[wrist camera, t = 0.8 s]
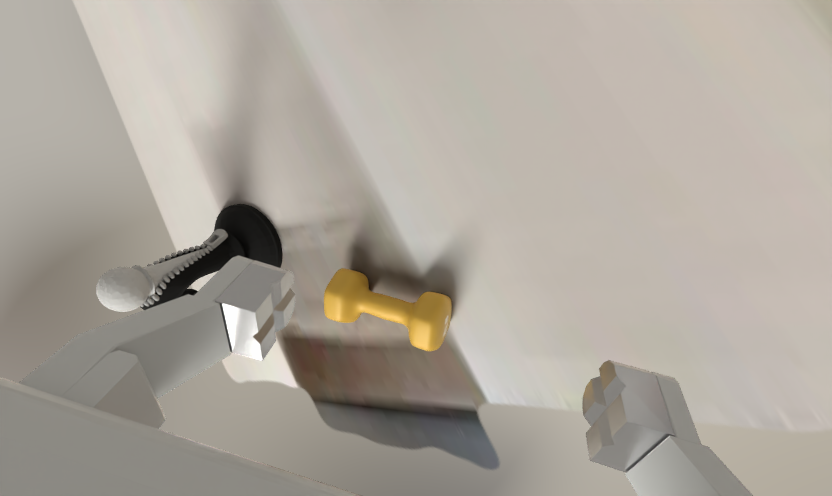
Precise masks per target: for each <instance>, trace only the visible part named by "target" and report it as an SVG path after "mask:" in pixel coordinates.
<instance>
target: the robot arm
mask: <svg viewBox="0 0 832 496" xmlns="http://www.w3.org/2000/svg"><path fill="white" fill-rule="evenodd" d="M293 284H294V273H293V272H291V271H288V270H285V269H282V268H279V267H275V266H272V265H269V264H266V263H262V262H259V261H255V260H252V259H248V258H245V257H242V256H239V255H238V256H236V257H233V258H231V259H230V260H229V261H228V262H227V263H226V264H225V265H224V266H223V267H222V268H221V269H220V270H219V271H218V272H217V273H216V274H215V275H214V276H213V277H212V278H211V279H210V280H209V281H208V282H207V283H206V284H205V285H204V286H203V287H202V288H201V289H200V290H199V291H198V292H197V293H196V294H195V295H194V296H193V295H189V294H188V295H185V296H182V297H179V298H177V299H174V300H171V301H168V302H166V303H163V304H160V305H157V306H155V307H152V308H149V309H146V310H144V311H141V312H138V313H136V314H133V315H130V316H127V317H125V318H122V319H119V320H116V321H114V322H111V323H108V324H105V325H103V326H100V327H97V328H95V329H92V330H89V331H86V332H84V333H81V334H78V335H76V336H75V337H74V338H73V339H72V340H70V341H69V342H68V343H67V344H65V345H64V346H63V347H62V348H61V349H59V350H58V351H57V352H56V353H54V354H53V355H52V356H51V357H49V358H48V359H47V360H46V361H45V362H43V363H42V364H41V365H40V366H38V368H36V369H35V370H34V371H32V372H31V373H30V374H29V375H28V376H26V377H25V378H24V379H23V380H22V381H20V382H19V383H16V382H13V381H11V380H8V379H5V378H1V377H0V496H361V495H358V494H355V493H352V492H349V491H346V490H343V489H339V488H337V487H334V486H331V485H327V484H324V483H321V482H319V481H315V480H312V479H309V478H306V477H303V476H300V475H297V474H294V473H291V472H288V471H285V470H282V469H279V468H276V467H273V466H270V465H266V464H264V463H261V462H258V461H254V460H251V459H248V458H245V457H242V456H239V455H236V454H233V453H230V452H227V451H224V450H221V449H218V448H215V447H212V446H209V445H205V444H202V443H200V442H197V441H193V440H190V439H187V438H184V437H181V436H178V435H175V434H172V433H169V432H166V431H163V430H160V429H159V428H160V427H161V425H162V424H163V423H164V421H165V414H164V412H163V410H162V408H161V405H160V403H159V401H158V398H159V397H161V396H163V395H164V394H166V393H168V392H169V391H171V390H173V389H174V388H176V387H177V386H179V385H181V384H182V383H184V382H185V381H187V380H189V379H191V378H192V377H194V376H196V375H197V374H199V373H201V372H202V371H204V370H205V369H207V368H209V367H211V366H212V365H214V364H215V363H217V362H219V361H221V360H222V359H224V358H226V357H227V356H229V355H230V354H231V352H232V353H235V354H239V355H243V356H246V357H250V358H254V359H257V360H261V361H263V359H264V358H265V356H266V355H267V353H268V352H269V350H270V349H271V347H272V346H273V344H274V343H275V341H276V336H275V332H277V331H279V330H281V329H283V328H285V326H286V325H287V323H288V322H289V320H290V318H291V315H292V313H293V310H294V306H295V294H294V292H293V291H292V290H291V286H292V285H293ZM599 370H600V376H599V377H596V378H593V379H591V380H590V382H589V383H588V385H587V386H586V388H585V392H584V395H583V415H584V417H585V419H586V420H587V421H588V423H589V424H590V426H591V427H590V428H589V430H588V431H587V432H586V438H587V445H588V452H589V459H590V461H593V462H596V463H599V464H602V465H605V466H608V467H611V468H614V469H617V470H620V471H623V472H626V474H625V475H626V476H627V478H628V480H629V481H630V483H631V485H632V486H633V488H634V490H635V491H636V493H637V495H638V496H753V495H752V494H751V493H750V492H749V491H748V489H746V487H745V486H744V485H743V484H742V483H741V482H740V481H739V480H738V478H737V477H736V476H734V474H733V473H732V472H731V471H730V470H729V469H728V468H727V466H726V465H724V463H723V462H722V461H721V460H720V459H719V458H718V457H717V456H716V454H715V453H714V452H713V451H712V450H711V449H710V448H709V447H707V446H704V445H702V444H701V442H700V439H699V437H698V434H697V431H696V428H695V426H694V423H693V420H692V418H691V415H690V412H689V410H688V407H687V404H686V402H685V399H684V396H683V394H682V391H681V388H680V386H679V383H678V382H677V381H676V380H675V378H673V377H669V376H665V375H662V374H658V373H654V372H650V371H647V370H644V369H640V368H636V367H633V366H629V365H625V364H621V363H618V362H614V361H610V360H608V361H606V362H604V363H603V365H602V366H601V367H600V368H599Z"/></svg>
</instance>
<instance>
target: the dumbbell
mask: <svg viewBox="0 0 832 496" xmlns="http://www.w3.org/2000/svg"><path fill="white" fill-rule="evenodd" d="M451 310H452V303H451V299H450V298H449V297H448V296H446V295H443V294H439V293H435V292H425V293H423V294H422V295H421V296H420V297H419V299H418V300H417V302H414V303H409V302H406V301H403V300H400V299H397V298H393V297H390V296H386V295H383V294H379V293H374V292H371V291H370V290H369V284H368V279H367V277H366V276H365V275H364V274H362V273H360V272H357V271H353V270H350V269H344V268H342V269H339V270H338V271H337V272H336V273H335V275H334V276H333V278H332V279H331V281H330V282H329V284H328V286H327V288H326V290H325V293H324V311H325V315H326V317H327V318H329V319H331V320H334V321H338V322H344V323H349V322H354V321H356V320H357V319H358V318H359V316H360V315H361V313H362V312H365V313H369V314H371V315H374V316H377V317H379V318H382V319H385V320H389V321H393V322H398V323H402V324H404V325H406V326H407V328H408V330H409V338H410V341H411V343H412V345H413V346H415V347H417V348H420V349H423V350H426V351H433V350H436V349H438V348H439V347H440V346H441V344H442V343H443V341H444V338H445V336H446V333H447V331H448V328H449V325H450V319H451Z"/></svg>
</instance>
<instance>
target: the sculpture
mask: <svg viewBox="0 0 832 496" xmlns="http://www.w3.org/2000/svg"><path fill="white" fill-rule="evenodd" d="M203 243H204V244H202V245H201V247H200V246H195V249H194V247H190V248H189V250H188V249H184V250H183V252H182V251H178V252H177V254H176V253H172V254H171V256H172V257H170V256H169V255H167V256H166V257H165V259H164V258H161V259H159V261H160V262H159V261H155V262H154V265H152V264H148V265H147V267H141V266H137V265H135V266H133V267H132V268H130V267H118V268H114V269H111V270H109V271H107V272H106V273H104V274H103V275H102V276H101V277H100V279H99V281H98V283H97V286H96V293H97V296H98V298H99V300H100V302H101V303H102V304H103V305H104V306H106V307H107V308H109V309H111V310H115V311H120V312H125V311H131V310H134V309H136V308H138V307H141V308H142V309H144V310H146V309H149V308H152V307H155V306H157V305H160V304H163V303H166V302H168V301H171V300H174V299H177V298H179V297H182V296H185V295H188V294H189V295H193V296H194V295H195V294H196V293H197V292H198V291H196V290H194V289H187V288H188V287H189V286H190V285H191V284H192V283H193V282H194V281H196V280H197V279H199V278H201V277H203V276H205V275H208V274H210V273H213V272H216V271H219V270H220V269H221V268H222V267H223V266H224V265H225V264H226V263H227V262H228V261H229V260H230V259H231V258H233V257H236V256H238V255H239V256H242V257H245V258H248V259H252V260H255V261H259V262H262V263H266V264H269V265H272V266H275V267H279V268H280V267H281V263H282V248H281V244H280V240H279V237H278V235H277V233H276V230H275V229H274V227H273V226H272V224H271V223H270V221H269V220H268V219H267V218H266V217H265V216H264V215H263V214H262V213H261V212H259V211H258V210H257V209H255V208H253V207H251V206H248V205H244V204H237V205H233V206H229V207H227V208H225V209H224V210H222V211H221V213H220V214H219V215H218V217H217V220H216V223H215V229H214V232H213V233H212V235H211V236H210V237H209V238H208V239H207V240H206V241H204V242H203Z"/></svg>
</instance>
